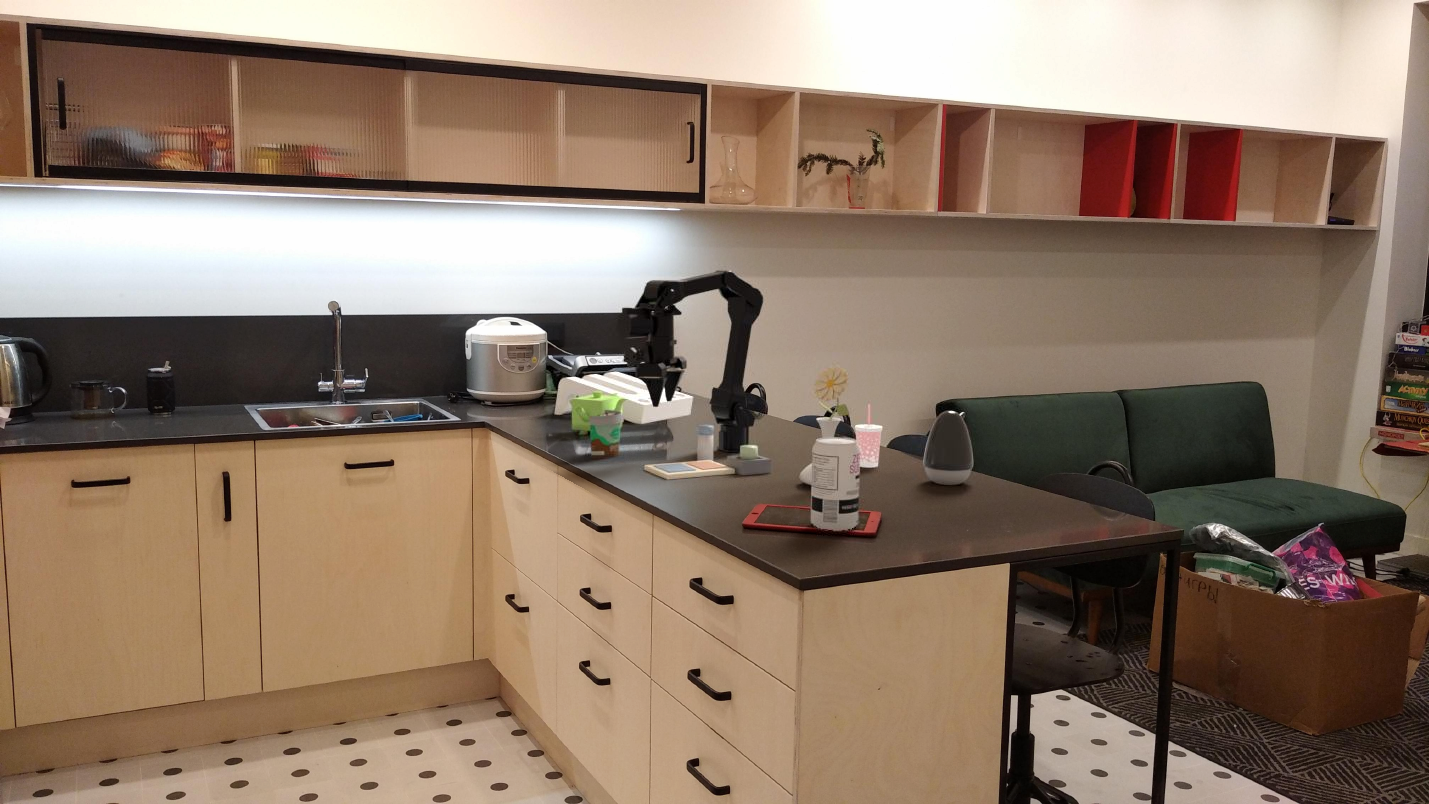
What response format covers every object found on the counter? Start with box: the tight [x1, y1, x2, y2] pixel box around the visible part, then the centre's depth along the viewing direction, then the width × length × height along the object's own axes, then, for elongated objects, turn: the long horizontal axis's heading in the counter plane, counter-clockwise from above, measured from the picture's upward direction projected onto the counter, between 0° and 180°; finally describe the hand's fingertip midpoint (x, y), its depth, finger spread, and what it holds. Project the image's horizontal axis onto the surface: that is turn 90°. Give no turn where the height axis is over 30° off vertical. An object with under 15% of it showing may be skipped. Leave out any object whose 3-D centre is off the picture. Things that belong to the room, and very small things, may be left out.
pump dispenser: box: [922, 410, 974, 486], centre depth 226 cm, size 10×10×15 cm
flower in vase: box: [798, 365, 851, 486], centre depth 220 cm, size 13×11×25 cm
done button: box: [739, 444, 759, 460], centre depth 236 cm, size 4×4×4 cm
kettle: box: [569, 391, 628, 436], centre depth 287 cm, size 15×14×11 cm
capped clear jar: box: [696, 424, 715, 461], centre depth 248 cm, size 4×4×8 cm
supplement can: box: [810, 436, 861, 532], centre depth 187 cm, size 8×8×15 cm
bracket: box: [554, 371, 694, 425], centre depth 324 cm, size 24×12×32 cm
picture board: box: [643, 460, 736, 480], centre depth 235 cm, size 16×12×1 cm
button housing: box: [726, 454, 772, 476], centre depth 236 cm, size 7×7×3 cm
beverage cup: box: [854, 403, 883, 468], centre depth 244 cm, size 6×6×14 cm
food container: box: [589, 410, 625, 459], centre depth 254 cm, size 12×6×10 cm, turn 168°
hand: (662, 404), depth 248 cm, fingers open, 9 cm apart
